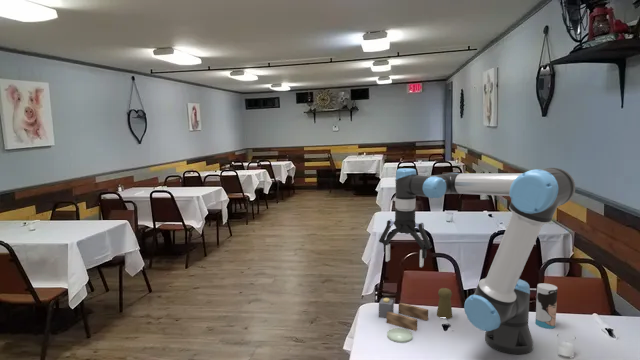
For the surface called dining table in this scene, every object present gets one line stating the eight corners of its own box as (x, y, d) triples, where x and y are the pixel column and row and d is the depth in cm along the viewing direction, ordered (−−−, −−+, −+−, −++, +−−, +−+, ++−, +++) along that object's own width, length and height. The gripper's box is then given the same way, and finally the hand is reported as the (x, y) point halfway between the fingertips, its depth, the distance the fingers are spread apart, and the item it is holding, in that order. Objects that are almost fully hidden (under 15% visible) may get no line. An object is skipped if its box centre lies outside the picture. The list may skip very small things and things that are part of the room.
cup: (549, 330, 156) (552, 291, 155) (531, 323, 162) (533, 285, 160) (558, 325, 160) (560, 287, 159) (540, 319, 166) (542, 282, 164)
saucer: (416, 334, 154) (416, 332, 154) (406, 345, 147) (406, 342, 147) (394, 328, 160) (394, 325, 159) (382, 337, 152) (382, 335, 152)
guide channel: (428, 319, 167) (428, 309, 166) (415, 331, 157) (415, 320, 157) (400, 311, 174) (400, 302, 173) (386, 322, 164) (386, 312, 164)
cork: (453, 319, 166) (453, 292, 165) (437, 318, 168) (437, 291, 166) (451, 312, 172) (452, 286, 171) (436, 311, 174) (436, 285, 172)
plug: (393, 314, 172) (393, 297, 171) (391, 319, 167) (391, 302, 166) (381, 312, 174) (381, 296, 173) (378, 317, 169) (378, 300, 168)
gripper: (440, 210, 158) (439, 265, 161) (378, 204, 171) (378, 256, 173) (435, 214, 152) (433, 271, 154) (371, 207, 164) (370, 261, 167)
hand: (404, 263), depth 164 cm, fingers open, 13 cm apart
